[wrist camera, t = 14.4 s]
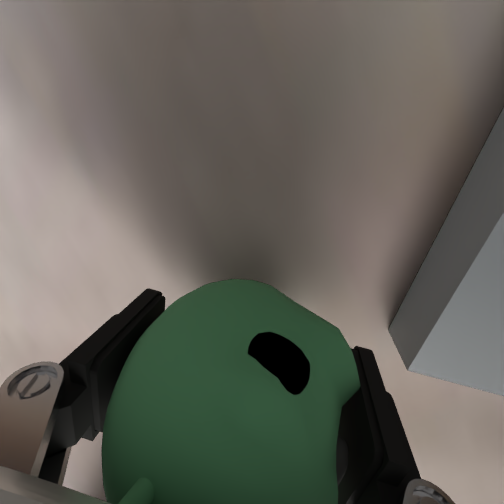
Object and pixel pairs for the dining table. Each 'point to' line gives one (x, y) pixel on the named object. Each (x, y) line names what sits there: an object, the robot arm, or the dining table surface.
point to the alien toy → (230, 403)
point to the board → (462, 285)
